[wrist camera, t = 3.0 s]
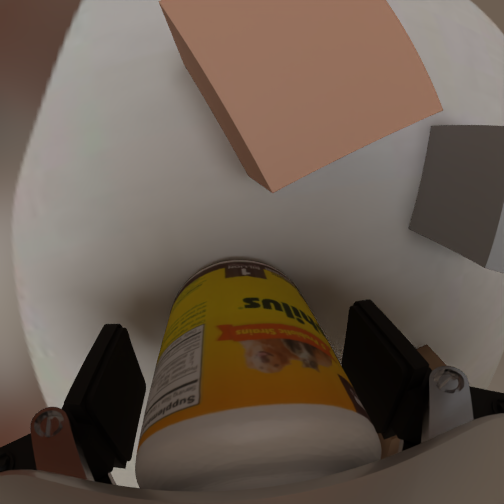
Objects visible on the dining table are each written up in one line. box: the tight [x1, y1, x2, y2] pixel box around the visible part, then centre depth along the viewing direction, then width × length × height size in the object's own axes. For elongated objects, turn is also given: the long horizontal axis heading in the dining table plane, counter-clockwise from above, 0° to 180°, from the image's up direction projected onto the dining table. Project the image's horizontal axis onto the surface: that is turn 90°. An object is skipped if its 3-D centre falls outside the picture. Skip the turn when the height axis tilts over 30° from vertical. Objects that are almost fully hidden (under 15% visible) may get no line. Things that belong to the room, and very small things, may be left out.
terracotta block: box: [159, 0, 443, 193], centre depth 7 cm, size 5×5×5 cm
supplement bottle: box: [135, 260, 382, 492], centre depth 7 cm, size 6×6×10 cm
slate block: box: [409, 125, 504, 273], centre depth 9 cm, size 5×5×5 cm
